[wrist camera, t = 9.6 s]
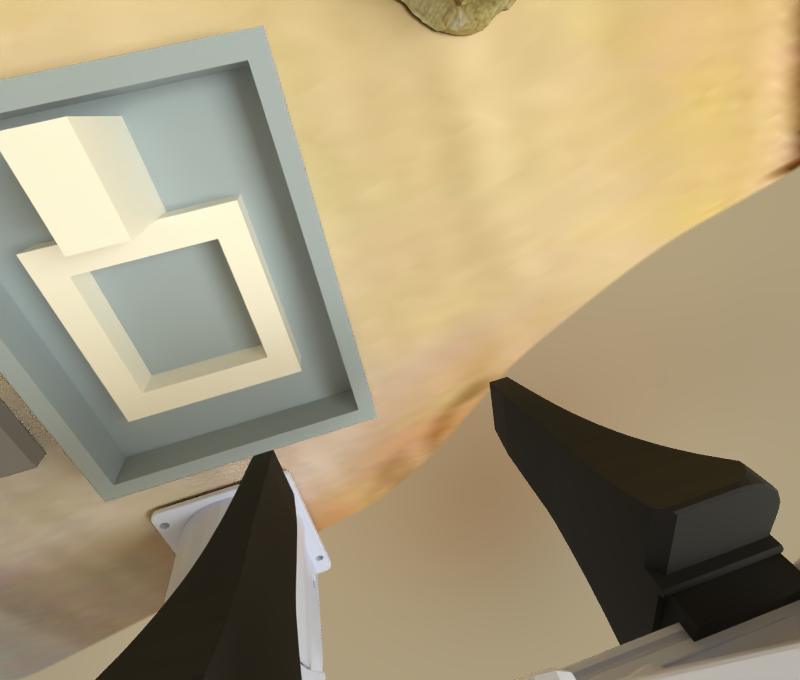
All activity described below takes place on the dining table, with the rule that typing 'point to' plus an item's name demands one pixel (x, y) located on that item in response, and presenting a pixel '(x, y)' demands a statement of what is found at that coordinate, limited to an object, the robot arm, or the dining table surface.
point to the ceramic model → (457, 14)
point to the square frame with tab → (130, 240)
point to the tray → (182, 268)
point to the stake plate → (16, 445)
